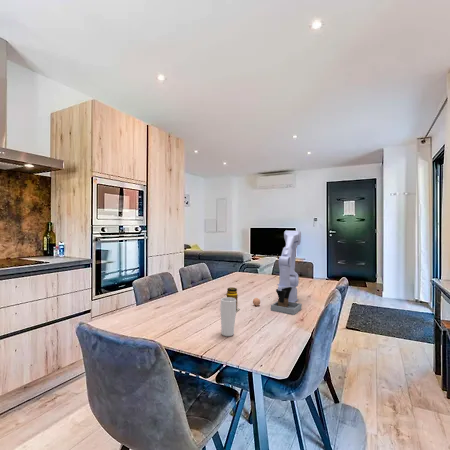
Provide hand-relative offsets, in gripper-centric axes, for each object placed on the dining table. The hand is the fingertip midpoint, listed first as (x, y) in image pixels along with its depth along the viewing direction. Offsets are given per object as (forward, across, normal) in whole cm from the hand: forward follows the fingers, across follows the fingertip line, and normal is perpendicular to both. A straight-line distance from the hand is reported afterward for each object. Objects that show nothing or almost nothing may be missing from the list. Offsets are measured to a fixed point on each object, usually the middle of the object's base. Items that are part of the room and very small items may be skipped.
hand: (283, 301), depth 161 cm
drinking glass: (+4, +52, -6) cm, 52 cm away
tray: (+4, +2, +2) cm, 5 cm away
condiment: (+4, +22, -22) cm, 31 cm away
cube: (+3, 0, 0) cm, 3 cm away
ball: (+4, +6, -14) cm, 16 cm away
